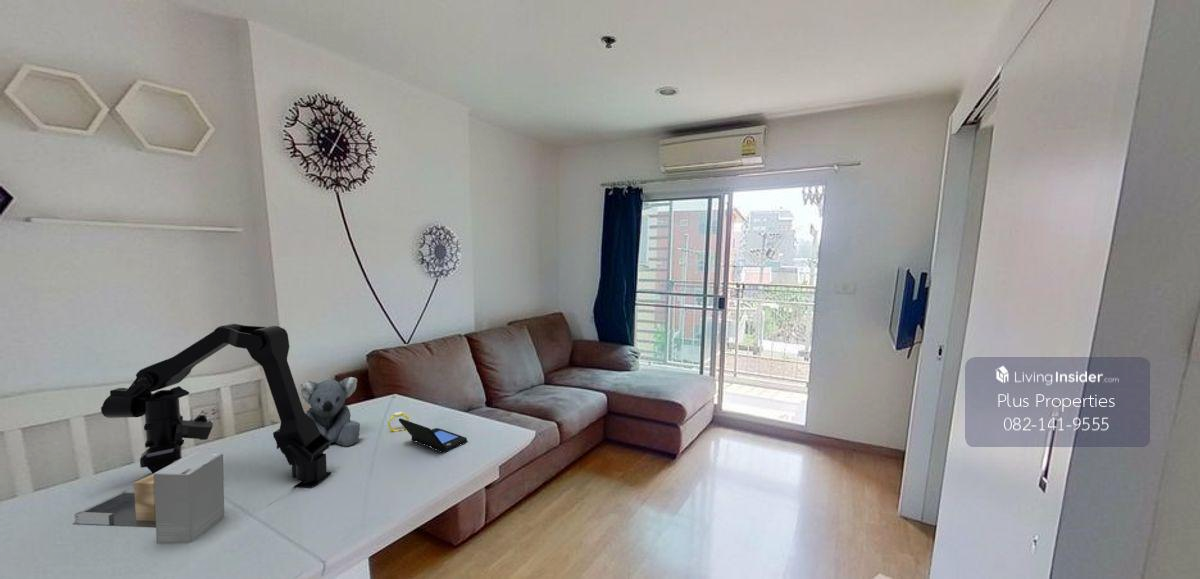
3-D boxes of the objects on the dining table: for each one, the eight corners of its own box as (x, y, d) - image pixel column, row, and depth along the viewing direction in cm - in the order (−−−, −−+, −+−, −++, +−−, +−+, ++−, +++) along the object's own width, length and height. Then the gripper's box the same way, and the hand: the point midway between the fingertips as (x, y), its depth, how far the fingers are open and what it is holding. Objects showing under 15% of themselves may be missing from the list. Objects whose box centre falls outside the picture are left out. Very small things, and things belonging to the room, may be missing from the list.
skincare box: (193, 524, 86) (189, 451, 84) (229, 523, 86) (226, 450, 85) (152, 553, 77) (147, 472, 76) (193, 551, 78) (189, 471, 77)
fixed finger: (180, 506, 89) (178, 471, 88) (154, 521, 84) (152, 483, 83) (160, 505, 89) (158, 470, 89) (133, 520, 84) (130, 482, 84)
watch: (389, 434, 131) (387, 416, 131) (389, 431, 134) (387, 413, 133) (409, 430, 134) (407, 412, 133) (409, 427, 136) (408, 409, 135)
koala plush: (288, 458, 114) (285, 389, 113) (298, 434, 130) (295, 373, 128) (360, 445, 123) (358, 381, 121) (361, 424, 138) (359, 367, 137)
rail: (203, 508, 91) (202, 493, 91) (159, 534, 82) (158, 518, 82) (124, 505, 92) (123, 490, 91) (72, 531, 83) (71, 514, 83)
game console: (469, 442, 126) (469, 414, 125) (430, 460, 114) (429, 429, 114) (437, 431, 134) (436, 404, 134) (397, 446, 123) (397, 417, 122)
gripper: (208, 418, 97) (211, 482, 98) (210, 398, 110) (213, 454, 111) (137, 431, 89) (142, 500, 90) (148, 408, 103) (152, 468, 104)
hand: (166, 478), depth 99 cm, fingers closed on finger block, 5 cm apart
